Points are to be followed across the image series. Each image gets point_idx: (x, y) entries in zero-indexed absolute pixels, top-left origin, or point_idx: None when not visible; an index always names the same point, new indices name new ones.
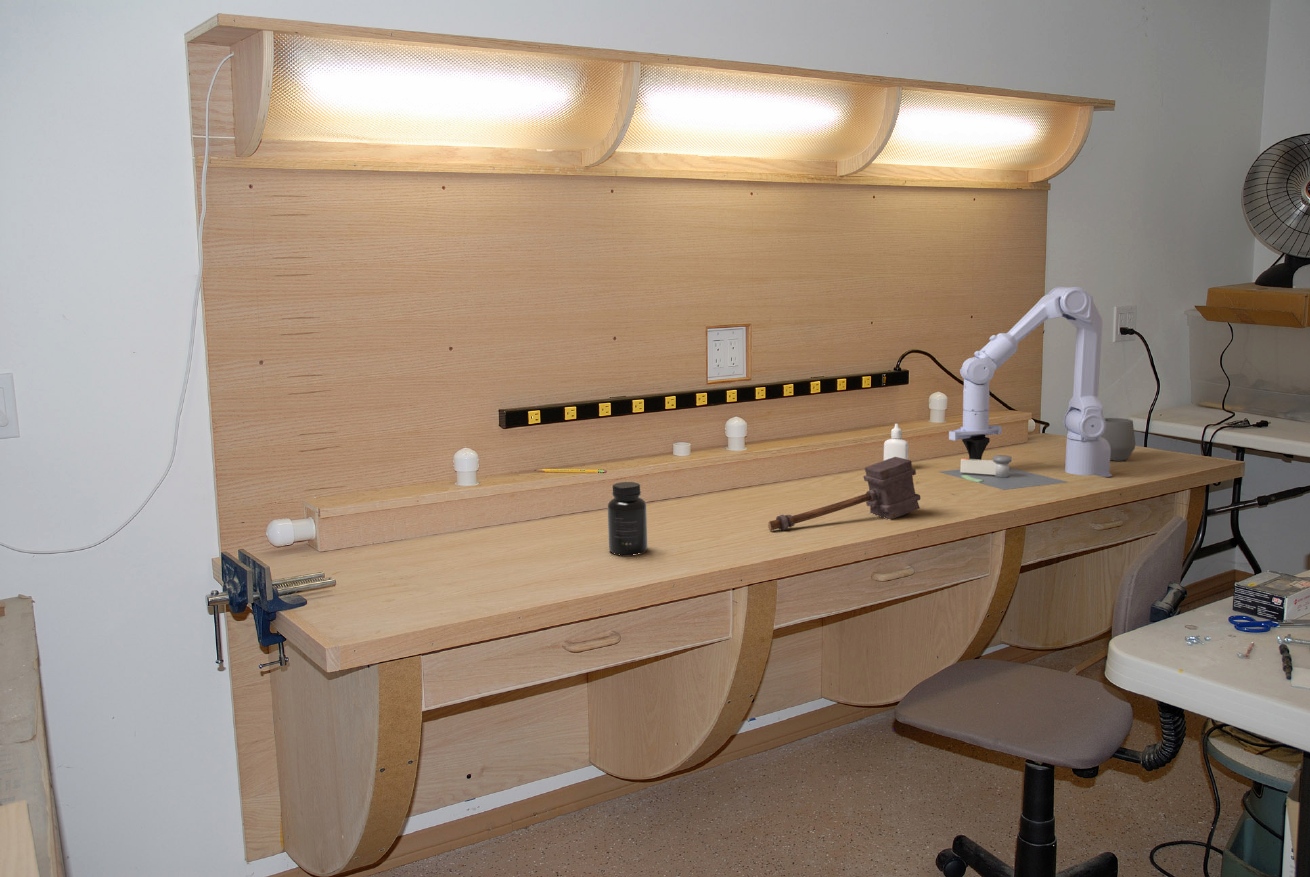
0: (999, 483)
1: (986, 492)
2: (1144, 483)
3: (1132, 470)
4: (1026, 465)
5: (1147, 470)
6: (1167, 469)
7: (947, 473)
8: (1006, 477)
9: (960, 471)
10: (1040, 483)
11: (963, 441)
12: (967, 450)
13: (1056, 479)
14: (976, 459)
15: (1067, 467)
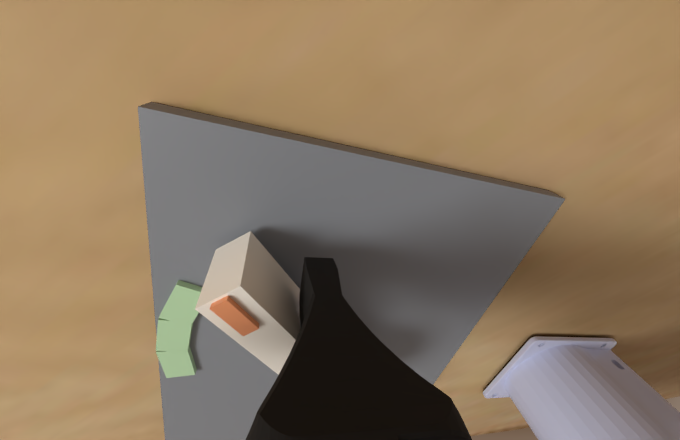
0: (225, 400)
1: (135, 405)
2: (517, 427)
3: (648, 363)
4: (667, 205)
5: (655, 372)
6: (674, 377)
7: (161, 187)
8: None
9: (215, 252)
10: None
11: (256, 421)
12: (300, 331)
13: None
14: (291, 343)
15: (533, 384)
